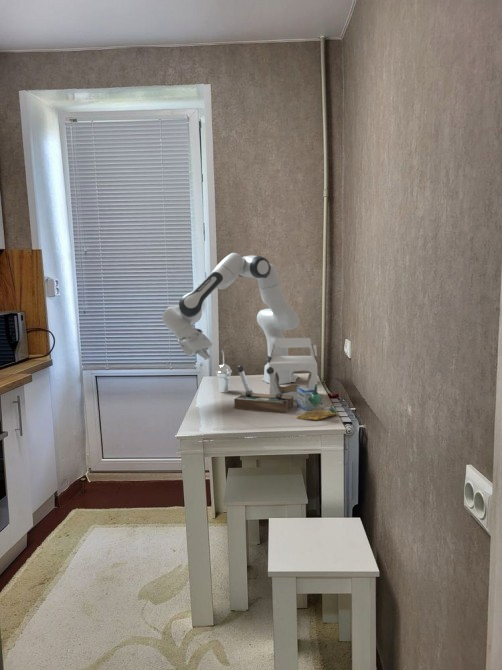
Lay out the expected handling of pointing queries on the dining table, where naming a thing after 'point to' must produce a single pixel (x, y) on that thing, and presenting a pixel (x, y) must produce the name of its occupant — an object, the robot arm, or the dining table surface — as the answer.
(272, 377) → the lever
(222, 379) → the cup with straw
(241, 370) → the lever
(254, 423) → the dining table surface
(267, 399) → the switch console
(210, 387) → the dining table surface
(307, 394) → the medicine box
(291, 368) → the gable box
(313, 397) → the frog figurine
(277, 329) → the robot arm
